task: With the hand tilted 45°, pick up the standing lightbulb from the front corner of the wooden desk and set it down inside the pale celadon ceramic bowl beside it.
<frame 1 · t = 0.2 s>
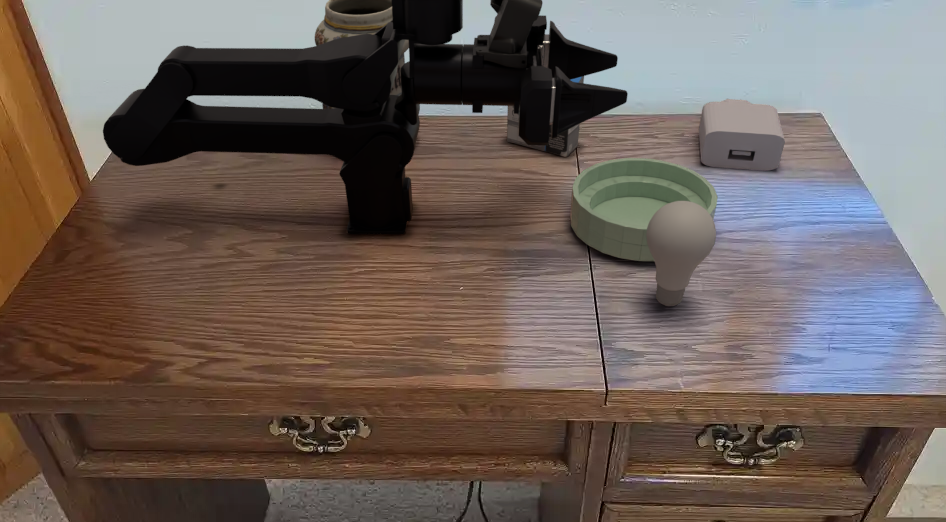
hand: (621, 78, 78), 17 cm above the table, tool horizontal, fingers open, 9 cm apart
apothecary jar: (374, 145, 105), on the table
lightbulb: (667, 305, 78), on the table
blue grey carton: (542, 145, 104), on the table
bowl: (638, 227, 88), on the table
charger: (733, 143, 104), on the table
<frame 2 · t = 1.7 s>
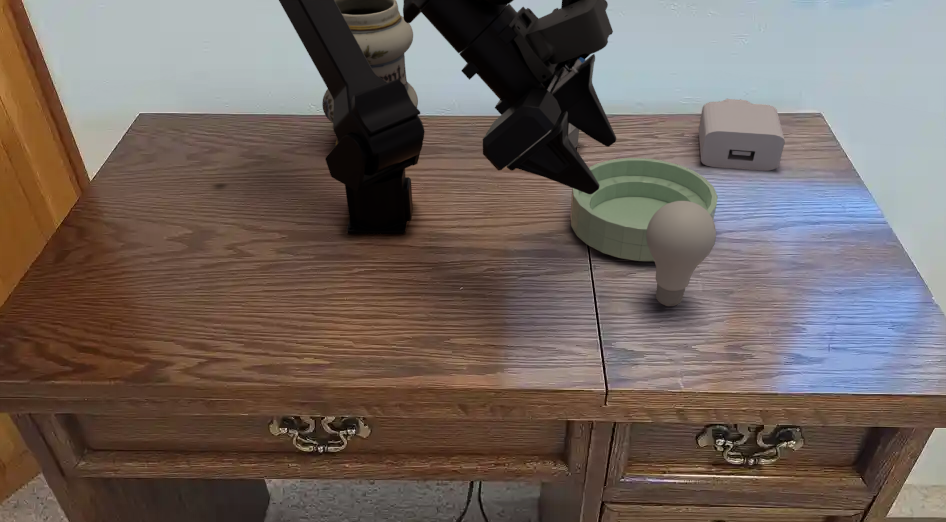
hand: (604, 166, 70), 14 cm above the table, tool tilted 45°, fingers open, 9 cm apart
nothing on the table moved.
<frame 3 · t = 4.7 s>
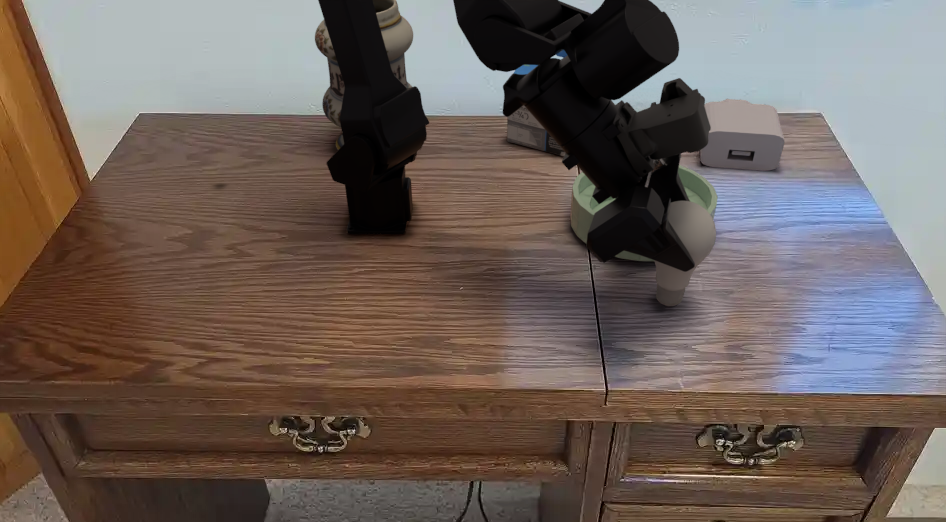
hand: (693, 249, 73), 7 cm above the table, tool tilted 45°, fingers closed on lightbulb, 6 cm apart
lightbulb: (667, 305, 78), on the table, touching gripper
everything else where it was.
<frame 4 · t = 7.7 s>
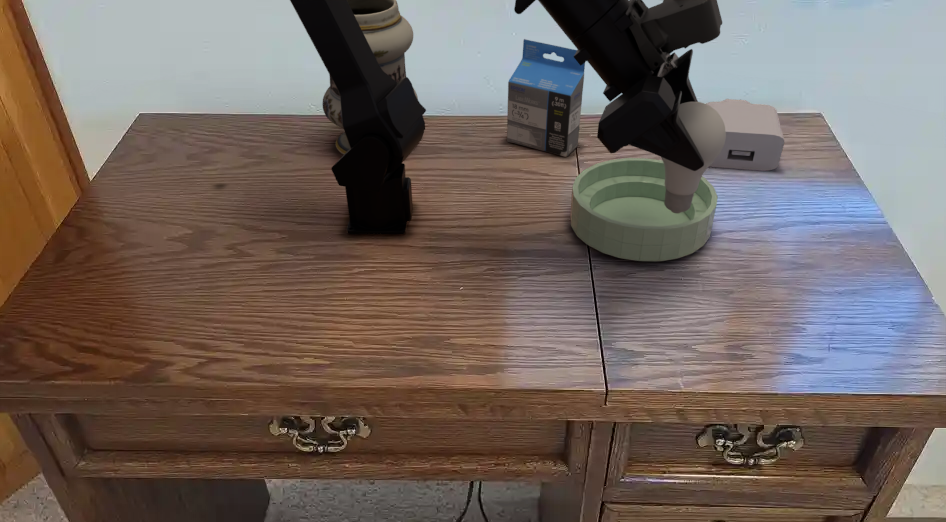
hand: (703, 152, 73), 13 cm above the table, tool tilted 45°, fingers closed on lightbulb, 6 cm apart
lightbulb: (675, 213, 78), point 6 cm above the table, touching gripper
everything else where it was.
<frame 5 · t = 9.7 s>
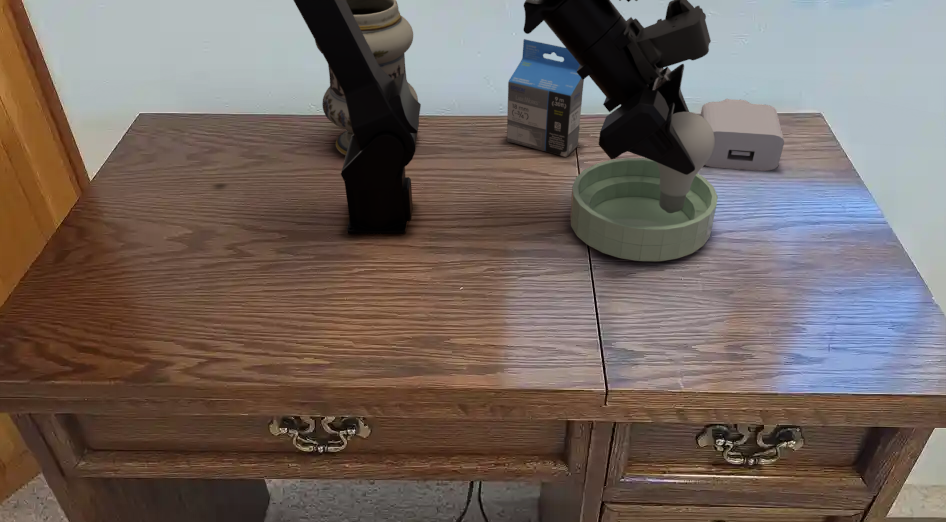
hand: (694, 157, 81), 9 cm above the table, tool tilted 45°, fingers closed on lightbulb, 6 cm apart
lightbulb: (669, 213, 85), point 3 cm above the table, touching gripper
everything else where it was.
when the fingers open (7 cm above the table, at t = 11.0 s): lightbulb stays where it is, resting on bowl.
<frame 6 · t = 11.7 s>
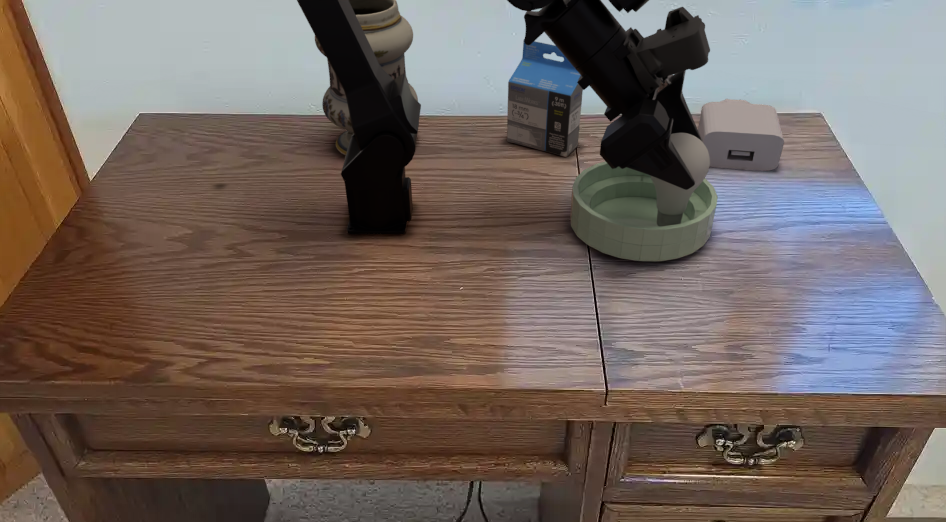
hand: (695, 165, 81), 9 cm above the table, tool tilted 45°, fingers open, 9 cm apart
lightbulb: (666, 231, 87), resting on bowl
everything else where it was.
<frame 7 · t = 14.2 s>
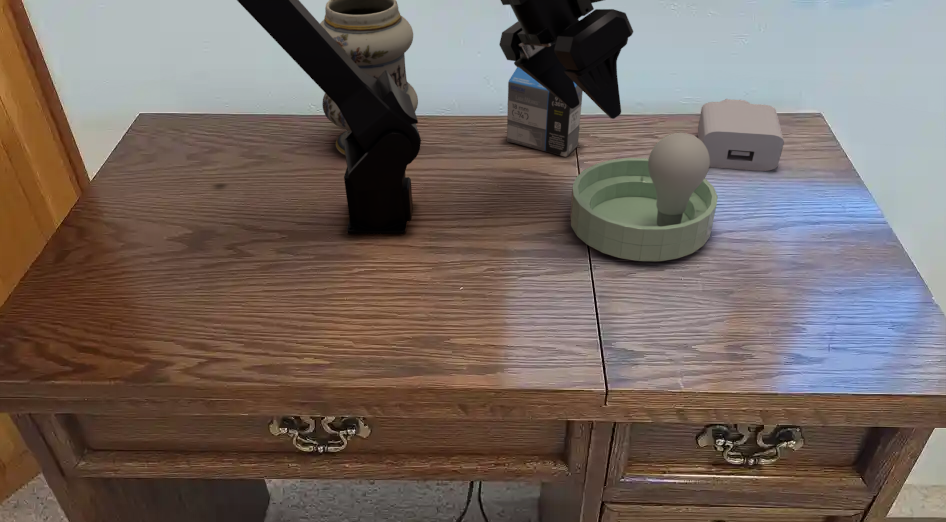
hand: (595, 111, 82), 12 cm above the table, tool tilted 30°, fingers open, 9 cm apart
nothing on the table moved.
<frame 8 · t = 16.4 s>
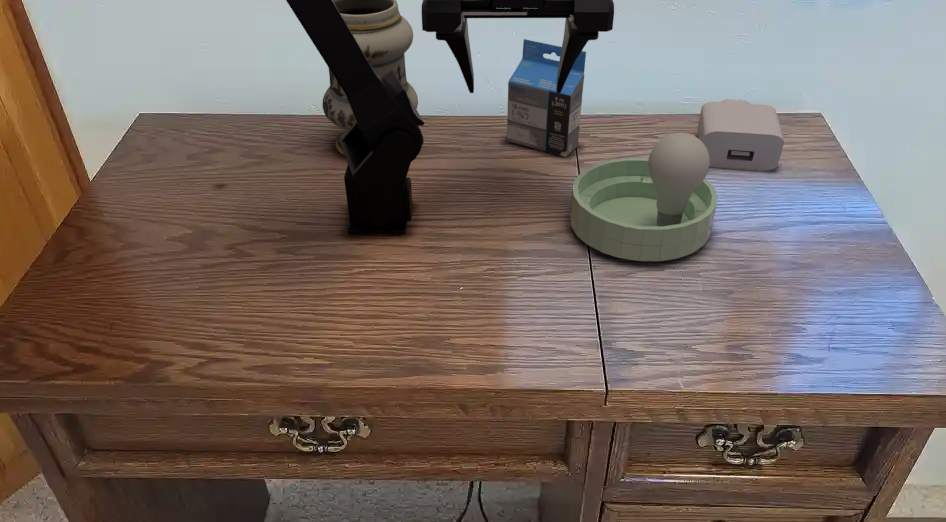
hand: (515, 91, 85), 13 cm above the table, tool pointing down, fingers open, 9 cm apart
nothing on the table moved.
at the end: lightbulb inside the target area in the bowl (3.2 cm from its centre), point 0.4 cm above the bowl's base; lightbulb touching bowl; the gripper is holding nothing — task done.
